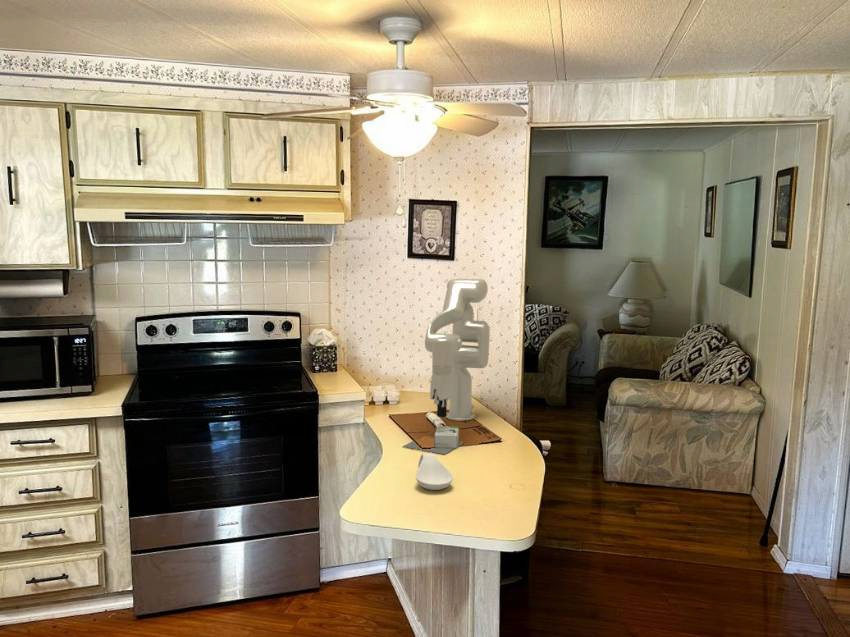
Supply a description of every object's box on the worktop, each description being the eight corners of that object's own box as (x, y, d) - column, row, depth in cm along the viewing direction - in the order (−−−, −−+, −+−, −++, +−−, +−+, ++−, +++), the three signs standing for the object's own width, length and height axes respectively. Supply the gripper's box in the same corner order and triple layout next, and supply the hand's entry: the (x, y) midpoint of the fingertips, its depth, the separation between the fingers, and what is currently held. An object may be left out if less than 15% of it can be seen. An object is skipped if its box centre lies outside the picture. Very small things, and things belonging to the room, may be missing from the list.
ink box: (459, 425, 266) (457, 435, 255) (459, 438, 267) (457, 448, 255) (436, 425, 267) (434, 435, 256) (436, 437, 268) (434, 447, 256)
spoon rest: (456, 493, 214) (456, 471, 213) (419, 496, 212) (419, 473, 211) (440, 467, 237) (440, 447, 236) (406, 469, 235) (406, 449, 234)
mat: (423, 436, 271) (423, 435, 271) (464, 443, 263) (464, 442, 262) (402, 447, 258) (402, 446, 258) (444, 455, 249) (444, 454, 249)
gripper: (442, 365, 270) (442, 410, 272) (423, 372, 257) (423, 419, 260) (459, 367, 266) (459, 413, 269) (441, 374, 254) (441, 422, 256)
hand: (441, 416), depth 264 cm, fingers closed
